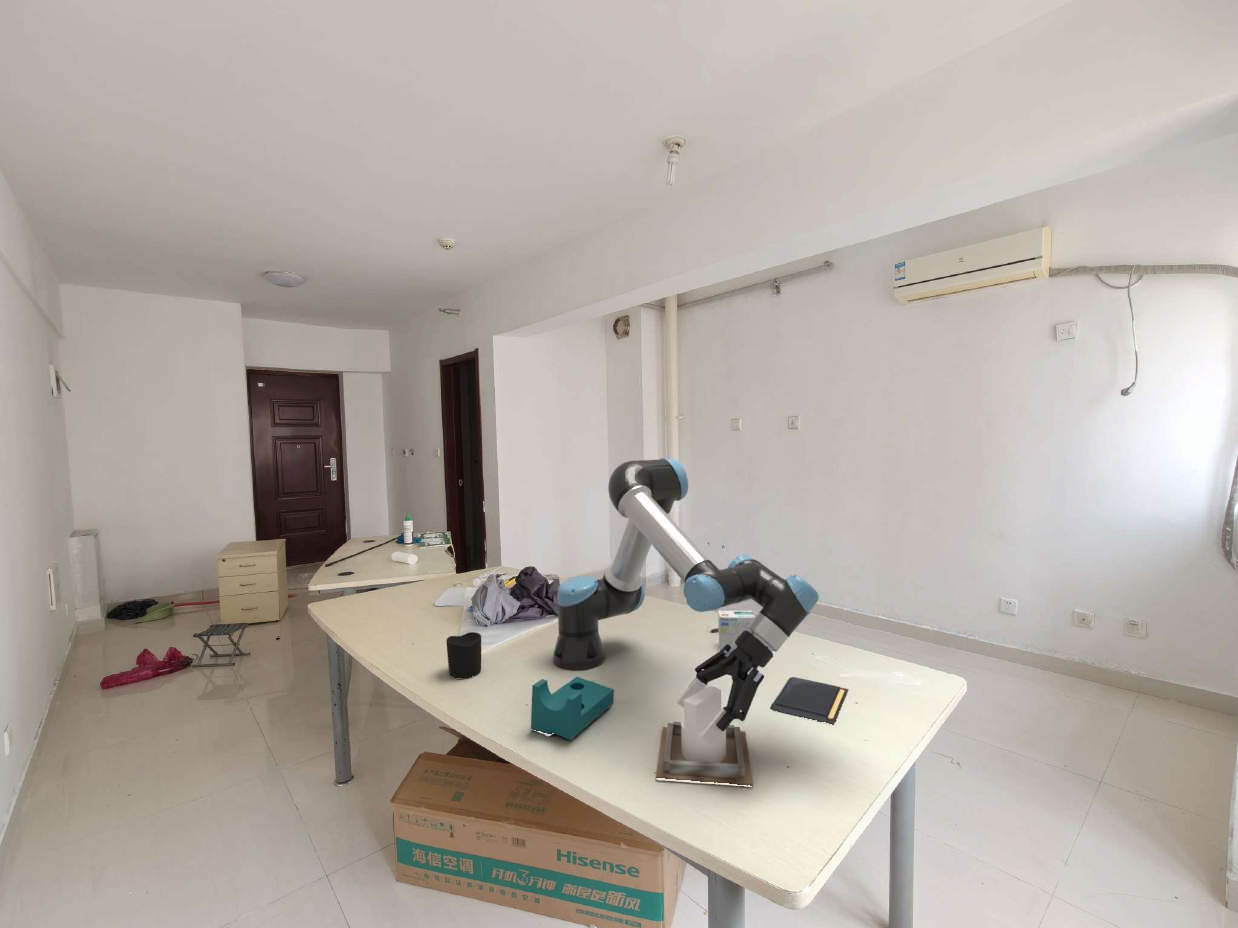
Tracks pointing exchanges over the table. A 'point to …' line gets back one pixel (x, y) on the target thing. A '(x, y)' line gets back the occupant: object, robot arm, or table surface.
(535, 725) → the teal l-shaped bracket
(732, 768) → the plate
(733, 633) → the light bulb box
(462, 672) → the pen holder
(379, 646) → the table surface
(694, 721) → the cylinder with rectangular tab
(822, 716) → the wallet
